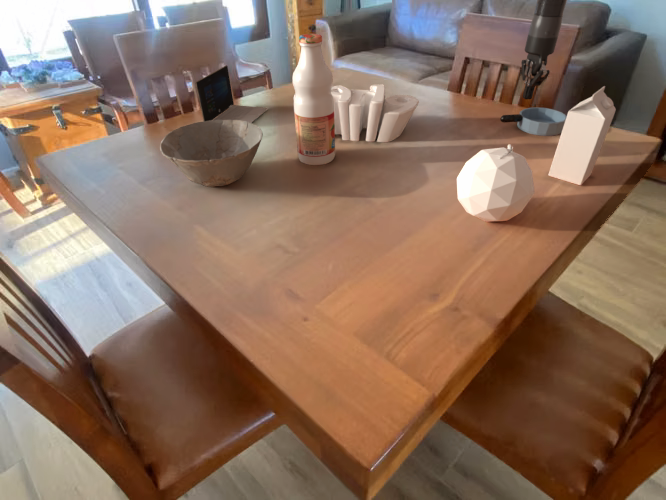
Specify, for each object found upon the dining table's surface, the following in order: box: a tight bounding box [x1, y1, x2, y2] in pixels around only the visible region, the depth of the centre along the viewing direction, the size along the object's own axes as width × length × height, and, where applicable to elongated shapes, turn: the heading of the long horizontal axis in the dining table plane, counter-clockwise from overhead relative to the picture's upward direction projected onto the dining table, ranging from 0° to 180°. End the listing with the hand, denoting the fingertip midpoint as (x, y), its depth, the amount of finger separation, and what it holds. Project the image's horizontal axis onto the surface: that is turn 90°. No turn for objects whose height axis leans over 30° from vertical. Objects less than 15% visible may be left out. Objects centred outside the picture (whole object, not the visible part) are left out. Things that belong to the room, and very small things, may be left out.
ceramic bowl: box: [159, 120, 264, 188], centre depth 97 cm, size 22×23×10 cm
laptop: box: [195, 64, 269, 124], centre depth 126 cm, size 18×12×13 cm
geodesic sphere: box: [456, 143, 535, 223], centre depth 81 cm, size 15×14×14 cm
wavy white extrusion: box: [293, 83, 420, 143], centre depth 118 cm, size 35×16×11 cm, turn 77°
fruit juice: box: [291, 33, 336, 166], centre depth 99 cm, size 9×9×28 cm
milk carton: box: [547, 85, 617, 186], centre depth 91 cm, size 7×7×19 cm
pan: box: [500, 107, 567, 137], centre depth 118 cm, size 18×12×4 cm
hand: (526, 98), depth 125 cm, fingers closed
